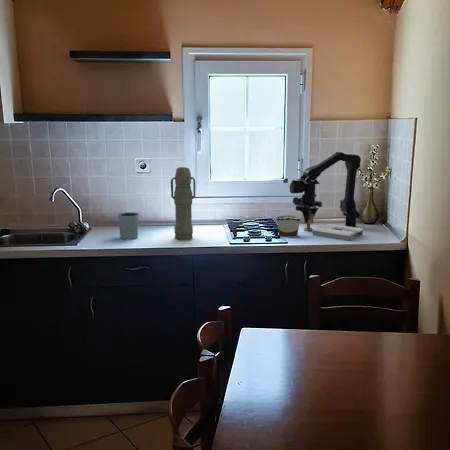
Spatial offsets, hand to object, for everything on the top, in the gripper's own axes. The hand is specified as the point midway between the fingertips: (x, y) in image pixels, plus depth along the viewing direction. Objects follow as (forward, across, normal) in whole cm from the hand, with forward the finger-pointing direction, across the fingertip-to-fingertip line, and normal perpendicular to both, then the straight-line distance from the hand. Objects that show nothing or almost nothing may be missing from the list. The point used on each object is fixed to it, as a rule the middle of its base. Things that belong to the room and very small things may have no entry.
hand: (308, 221), depth 280 cm
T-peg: (+5, 0, 0) cm, 5 cm away
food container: (+5, +16, -3) cm, 17 cm away
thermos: (+5, +53, -41) cm, 67 cm away
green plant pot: (+5, +69, -63) cm, 94 cm away
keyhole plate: (+5, 0, +17) cm, 18 cm away
